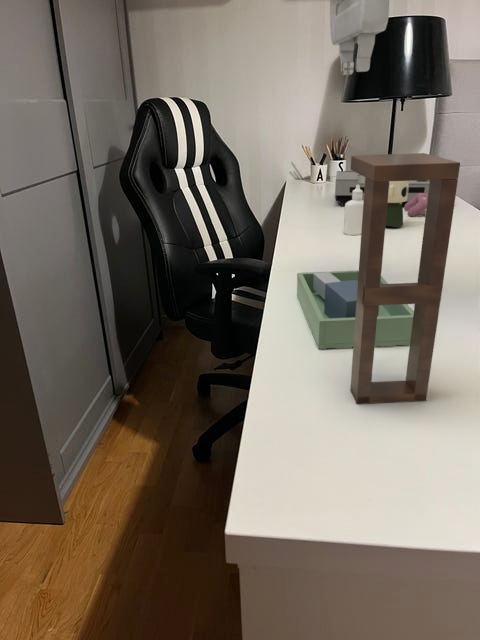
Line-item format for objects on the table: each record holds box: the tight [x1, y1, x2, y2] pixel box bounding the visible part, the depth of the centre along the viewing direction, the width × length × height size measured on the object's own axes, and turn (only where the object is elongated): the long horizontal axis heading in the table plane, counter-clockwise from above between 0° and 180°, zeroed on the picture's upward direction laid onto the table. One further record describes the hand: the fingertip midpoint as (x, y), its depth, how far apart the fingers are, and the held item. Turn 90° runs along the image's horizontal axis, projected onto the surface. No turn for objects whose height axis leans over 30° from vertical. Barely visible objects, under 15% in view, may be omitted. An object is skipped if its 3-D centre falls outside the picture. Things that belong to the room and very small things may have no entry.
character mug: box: [385, 181, 409, 228], centre depth 130 cm, size 11×7×13 cm, turn 157°
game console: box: [334, 170, 430, 208], centre depth 162 cm, size 21×32×8 cm, turn 79°
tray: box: [296, 269, 414, 350], centre depth 78 cm, size 14×21×4 cm, turn 2°
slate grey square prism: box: [313, 271, 379, 318], centre depth 78 cm, size 5×16×5 cm, turn 13°
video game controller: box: [403, 193, 428, 217], centre depth 144 cm, size 10×5×7 cm, turn 170°
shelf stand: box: [349, 152, 461, 405], centre depth 55 cm, size 8×9×26 cm
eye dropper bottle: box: [342, 185, 364, 236], centre depth 124 cm, size 4×6×12 cm
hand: (354, 73), depth 77 cm, fingers open, 8 cm apart
